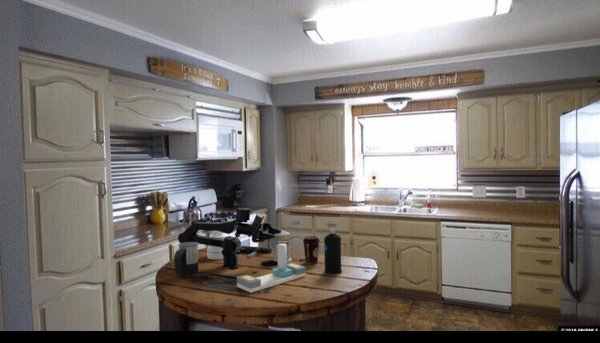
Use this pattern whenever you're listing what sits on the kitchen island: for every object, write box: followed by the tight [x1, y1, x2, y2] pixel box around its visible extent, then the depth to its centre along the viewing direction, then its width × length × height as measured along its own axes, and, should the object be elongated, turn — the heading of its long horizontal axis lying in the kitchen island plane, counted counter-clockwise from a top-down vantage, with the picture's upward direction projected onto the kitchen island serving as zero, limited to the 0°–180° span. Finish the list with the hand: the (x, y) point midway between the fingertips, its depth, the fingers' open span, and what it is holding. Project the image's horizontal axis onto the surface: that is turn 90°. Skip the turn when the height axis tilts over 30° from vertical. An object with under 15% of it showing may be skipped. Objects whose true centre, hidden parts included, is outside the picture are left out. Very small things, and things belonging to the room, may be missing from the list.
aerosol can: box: [323, 228, 343, 275], centre depth 170 cm, size 8×8×20 cm
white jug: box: [206, 231, 229, 260], centre depth 202 cm, size 13×13×18 cm
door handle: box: [236, 245, 273, 259], centre depth 206 cm, size 3×20×16 cm
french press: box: [269, 212, 293, 263], centre depth 193 cm, size 10×12×25 cm
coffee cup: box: [302, 235, 321, 265], centre depth 186 cm, size 9×8×13 cm
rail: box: [236, 262, 307, 294], centre depth 158 cm, size 30×10×4 cm, turn 132°
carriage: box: [271, 244, 293, 277], centre depth 162 cm, size 6×7×13 cm
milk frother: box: [173, 242, 211, 279], centre depth 166 cm, size 14×16×15 cm
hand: (278, 234), depth 177 cm, fingers open, 9 cm apart
